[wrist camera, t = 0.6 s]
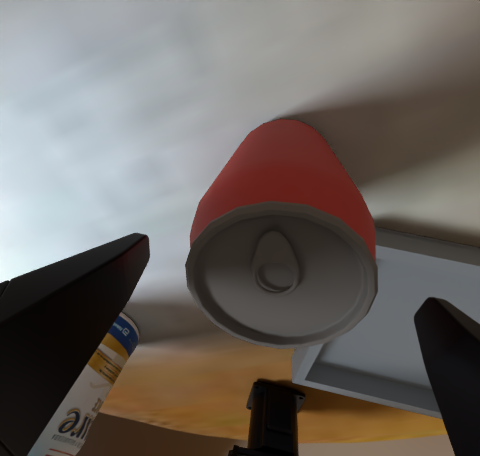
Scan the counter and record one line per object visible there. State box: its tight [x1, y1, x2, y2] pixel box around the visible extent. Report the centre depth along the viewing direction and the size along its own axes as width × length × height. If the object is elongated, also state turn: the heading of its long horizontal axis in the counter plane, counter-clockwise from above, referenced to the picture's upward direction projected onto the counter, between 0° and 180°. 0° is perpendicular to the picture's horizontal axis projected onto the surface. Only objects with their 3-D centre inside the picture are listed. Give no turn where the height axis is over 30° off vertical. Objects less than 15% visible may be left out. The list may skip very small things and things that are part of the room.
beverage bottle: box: [27, 312, 139, 456], centre depth 22 cm, size 8×8×20 cm
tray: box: [292, 227, 480, 419], centre depth 22 cm, size 18×18×3 cm
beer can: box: [185, 119, 378, 349], centre depth 12 cm, size 7×7×12 cm
